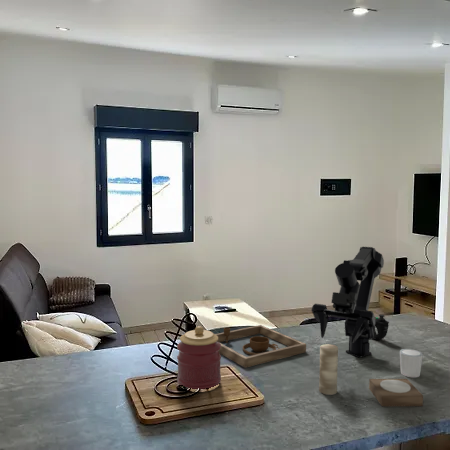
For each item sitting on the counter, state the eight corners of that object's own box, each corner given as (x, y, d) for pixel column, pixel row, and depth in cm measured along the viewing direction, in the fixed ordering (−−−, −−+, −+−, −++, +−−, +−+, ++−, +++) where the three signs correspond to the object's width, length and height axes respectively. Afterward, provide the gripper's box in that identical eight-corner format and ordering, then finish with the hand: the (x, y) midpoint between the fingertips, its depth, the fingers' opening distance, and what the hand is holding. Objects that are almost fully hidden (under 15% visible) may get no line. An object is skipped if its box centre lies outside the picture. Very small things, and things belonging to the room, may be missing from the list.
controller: (381, 343, 179) (382, 317, 178) (359, 334, 190) (360, 309, 189) (390, 342, 180) (391, 316, 179) (367, 332, 192) (368, 308, 191)
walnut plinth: (369, 388, 140) (369, 377, 140) (406, 388, 140) (406, 377, 140) (382, 406, 129) (382, 394, 129) (422, 406, 129) (423, 394, 129)
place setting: (244, 361, 162) (244, 344, 162) (220, 343, 180) (220, 328, 180) (288, 354, 169) (288, 338, 169) (261, 337, 187) (261, 322, 187)
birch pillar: (315, 389, 139) (316, 346, 138) (327, 385, 142) (328, 343, 141) (327, 396, 135) (329, 351, 134) (340, 392, 138) (341, 348, 137)
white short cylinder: (424, 379, 147) (425, 357, 146) (400, 377, 148) (401, 355, 148) (419, 370, 154) (420, 349, 153) (397, 368, 155) (398, 347, 155)
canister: (226, 378, 147) (227, 322, 145) (211, 396, 134) (212, 335, 133) (187, 373, 151) (187, 318, 149) (169, 390, 139) (169, 330, 137)
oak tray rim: (203, 344, 177) (203, 336, 177) (260, 332, 192) (260, 324, 191) (245, 367, 155) (245, 358, 155) (306, 352, 170) (306, 343, 169)
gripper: (314, 278, 151) (301, 321, 143) (374, 285, 142) (364, 331, 134) (321, 297, 159) (309, 339, 150) (379, 305, 150) (370, 350, 141)
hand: (336, 339), depth 144 cm, fingers open, 9 cm apart
